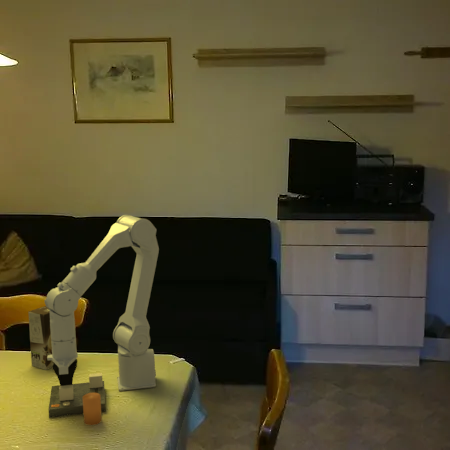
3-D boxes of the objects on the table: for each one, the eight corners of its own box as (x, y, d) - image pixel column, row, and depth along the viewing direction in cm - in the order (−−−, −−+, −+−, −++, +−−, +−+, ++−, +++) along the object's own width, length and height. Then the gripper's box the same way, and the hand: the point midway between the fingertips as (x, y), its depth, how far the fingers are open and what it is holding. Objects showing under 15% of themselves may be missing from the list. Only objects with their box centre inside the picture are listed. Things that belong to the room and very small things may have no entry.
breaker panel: (104, 388, 158) (104, 379, 157) (105, 411, 145) (105, 401, 145) (52, 393, 155) (51, 384, 155) (49, 417, 142) (48, 408, 142)
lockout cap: (101, 415, 143) (100, 391, 142) (101, 423, 139) (100, 399, 138) (84, 417, 142) (82, 393, 141) (83, 426, 138) (82, 401, 137)
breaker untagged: (102, 384, 155) (102, 372, 155) (102, 387, 153) (102, 375, 153) (89, 385, 155) (89, 374, 154) (89, 388, 153) (89, 377, 152)
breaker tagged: (73, 396, 149) (73, 384, 148) (73, 399, 147) (72, 387, 146) (60, 397, 148) (59, 386, 147) (59, 401, 146) (59, 389, 146)
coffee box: (46, 370, 169) (42, 314, 167) (30, 366, 173) (26, 311, 170) (71, 359, 177) (67, 305, 174) (55, 355, 180) (52, 302, 178)
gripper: (48, 329, 153) (51, 380, 155) (43, 350, 139) (47, 405, 141) (77, 326, 154) (80, 377, 157) (75, 347, 140) (79, 402, 143)
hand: (66, 390), depth 149 cm, fingers closed
